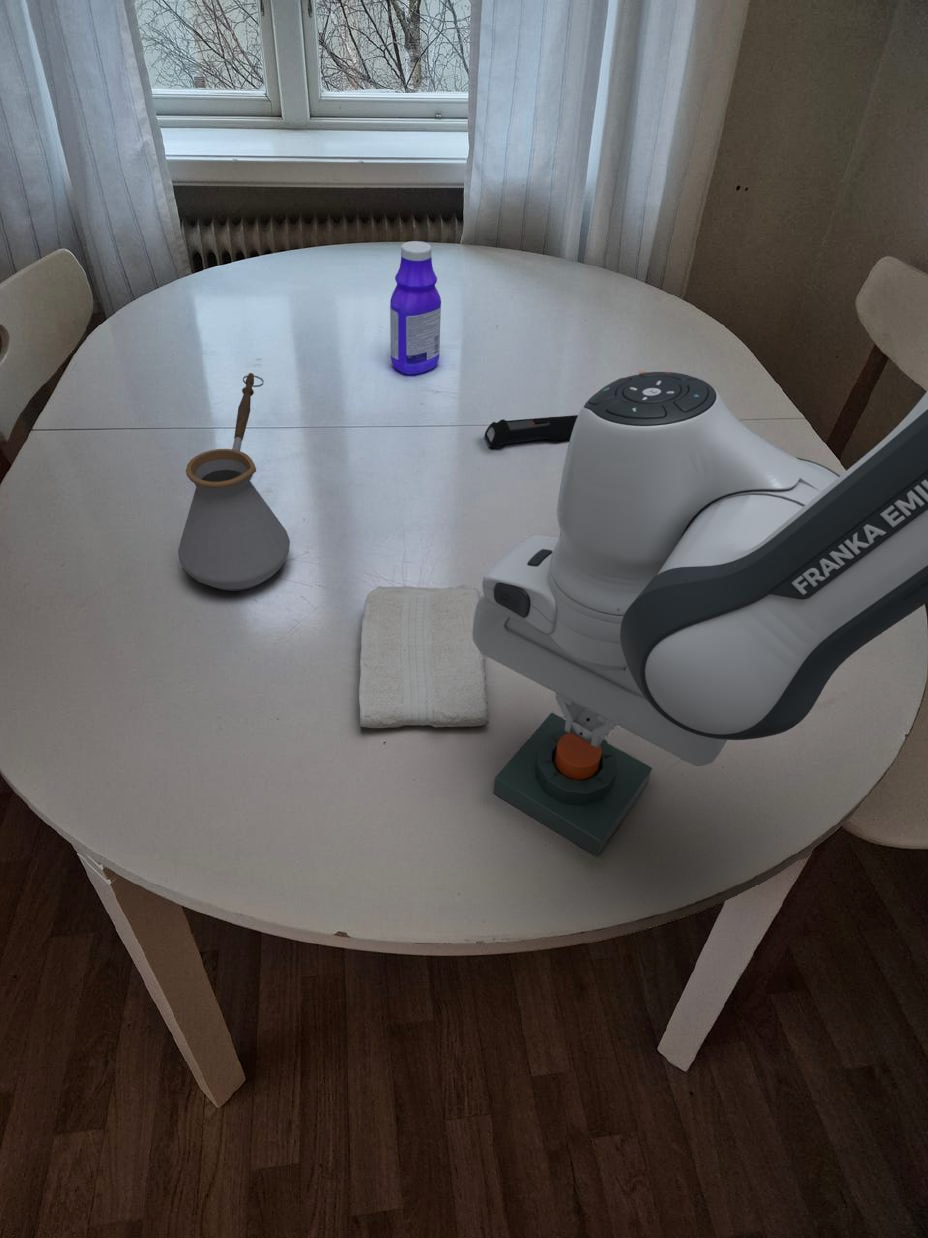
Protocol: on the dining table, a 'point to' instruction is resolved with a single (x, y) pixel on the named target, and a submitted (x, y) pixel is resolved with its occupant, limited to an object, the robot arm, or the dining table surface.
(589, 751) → the button
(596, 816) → the button box
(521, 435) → the electric trimmer
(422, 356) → the bottle
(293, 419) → the dining table surface
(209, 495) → the coffee pot
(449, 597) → the washcloth
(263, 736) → the dining table surface
